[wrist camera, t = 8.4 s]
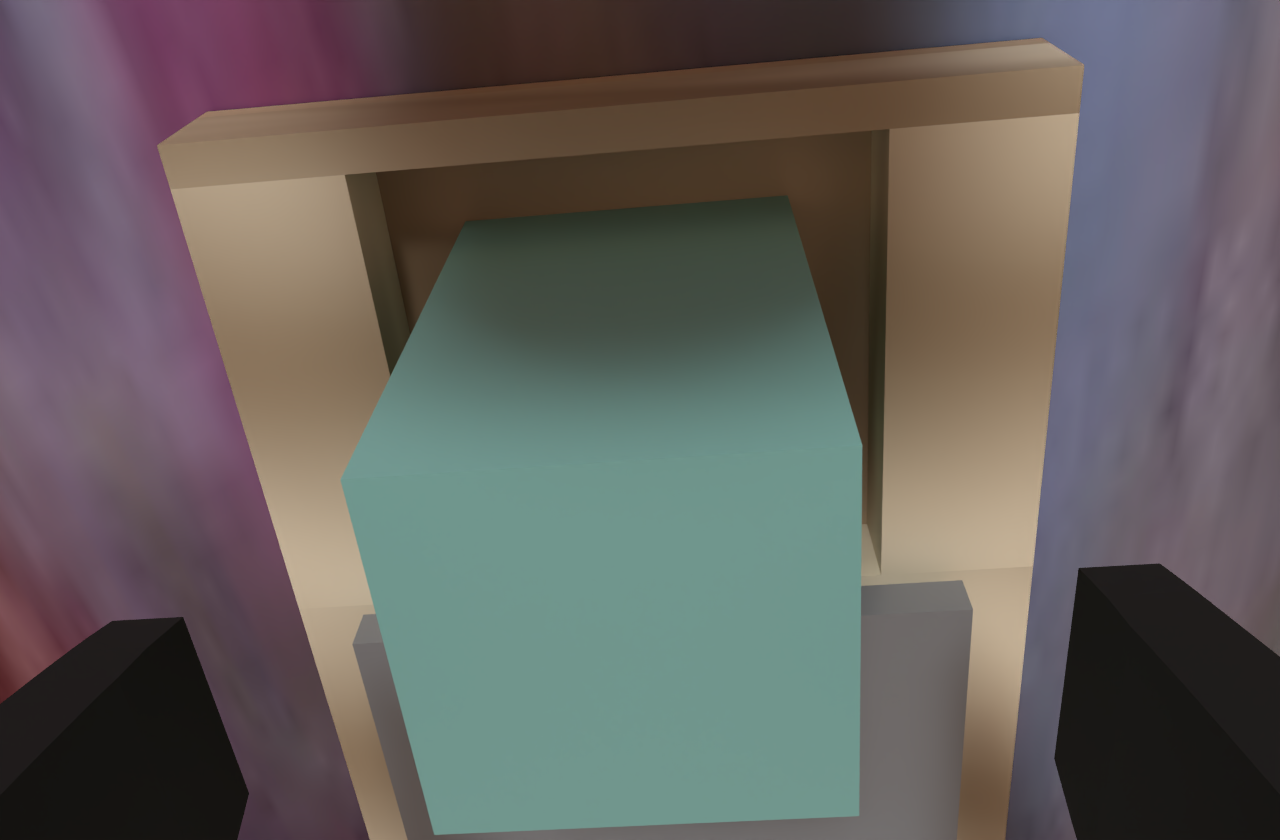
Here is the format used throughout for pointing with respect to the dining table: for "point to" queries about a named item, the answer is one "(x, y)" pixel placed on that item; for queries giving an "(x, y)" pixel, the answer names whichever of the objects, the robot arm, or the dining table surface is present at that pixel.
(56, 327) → the dining table surface
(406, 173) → the board
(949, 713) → the cover
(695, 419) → the block
